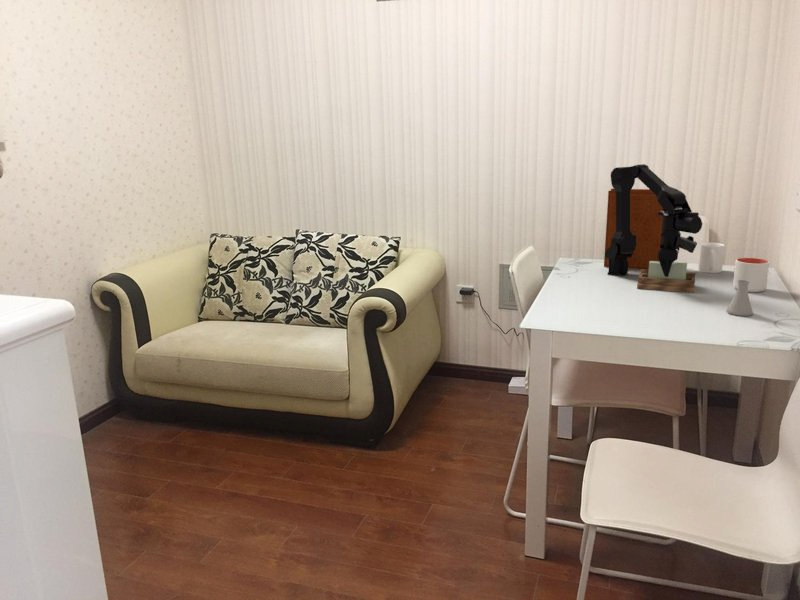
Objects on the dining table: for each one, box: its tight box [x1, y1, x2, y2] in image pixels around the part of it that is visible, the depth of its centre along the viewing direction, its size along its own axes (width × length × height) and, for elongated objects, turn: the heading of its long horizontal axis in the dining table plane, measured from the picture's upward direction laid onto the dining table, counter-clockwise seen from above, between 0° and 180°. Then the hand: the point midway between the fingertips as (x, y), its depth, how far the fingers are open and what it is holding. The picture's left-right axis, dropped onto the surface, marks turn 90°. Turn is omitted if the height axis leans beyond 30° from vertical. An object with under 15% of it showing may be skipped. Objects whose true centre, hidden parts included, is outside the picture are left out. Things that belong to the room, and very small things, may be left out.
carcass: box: [636, 269, 697, 294], centre depth 231 cm, size 18×11×4 cm, turn 66°
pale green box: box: [648, 261, 688, 280], centre depth 230 cm, size 12×4×7 cm, turn 66°
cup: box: [732, 257, 770, 293], centre depth 225 cm, size 10×10×10 cm
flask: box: [726, 280, 754, 317], centre depth 198 cm, size 7×7×10 cm
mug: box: [698, 242, 726, 274], centre depth 251 cm, size 12×8×10 cm
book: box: [603, 188, 663, 270], centre depth 260 cm, size 23×8×30 cm, turn 67°
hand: (666, 274), depth 230 cm, fingers open, 7 cm apart
